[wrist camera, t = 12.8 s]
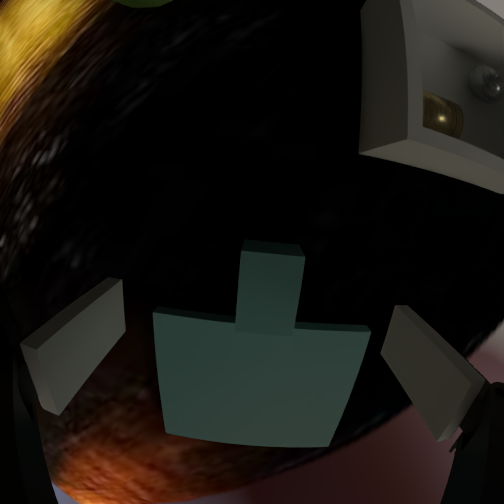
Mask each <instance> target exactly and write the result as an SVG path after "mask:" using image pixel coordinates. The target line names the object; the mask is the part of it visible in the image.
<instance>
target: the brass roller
mask: <svg viewBox="0 0 504 504" xmlns="http://www.w3.org/2000/svg"><path fill="white" fill-rule="evenodd" d="M422 93H423V127H425V128H428V129H431V130H434V131H437V132H440V133H443V134H445V135H448V136H451V137H453V138H456V139H459V137H460V135H461V133H462V130H463V125H464V116H463V112H462V109H461V107H460V106H459V105H458V104H457V103H455V102H452V101H450V100H448V99H445V98H443V97H440V96H438V95H435V94H433V93H430V92H428V91H425V90H422Z"/></svg>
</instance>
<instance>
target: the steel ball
mask: <svg viewBox="0 0 504 504" xmlns="http://www.w3.org/2000/svg"><path fill="white" fill-rule="evenodd" d="M468 82H469V86H470V89H471V91H472V92H473V94H474V95H475V96H476V97H477V98H478V99H479V100H480V101H482V102H484V103H487V104H495V103H497V102H499V101H500V100H501V99H502V97H503V95H504V83H503V80H502V78H501V76H500V75H499V73H498V72H497V71H496V70H495V69H493V68H492V67H490V66H488V65H483V64H480V65H476V66H474V67H473V68H472V69H471V71H470V73H469V76H468Z"/></svg>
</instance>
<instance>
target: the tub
mask: <svg viewBox="0 0 504 504" xmlns="http://www.w3.org/2000/svg"><path fill="white" fill-rule="evenodd" d="M360 15H361V37H362V97H361V121H360V137H359V151H358V154H363V155H368V156H373V157H377V158H382V159H386V160H391V161H395V162H399V163H403V164H407V165H411V166H415V167H419V168H422V169H426V170H430V171H433V172H437V173H440V174H444V175H447V176H450V177H453V178H457V179H460V180H463V181H466V182H469V183H472V184H475V185H478V186H480V187H483V188H486V189H489V190H492V191H494V192H497V193H500V194H504V95H503V97H502V99H501V100H500V101H499V102H497V103H495V104H487V103H484V102H482V101H480V100H479V99H478V98H477V97H476V96H475V95H474V94H473V92H472V91H471V89H470V86H469V82H468V76H469V73H470V71H471V69H472V68H473V67H474V66H476V65H480V64H483V65H488V66H490V67H492V68H493V69H495V70H496V71H497V72H498V73H499V75H500V76H501V78H502V80H503V83H504V19H503V18H501V17H500V16H498V15H497V14H496V13H494V12H493V11H491V10H490V9H488V8H487V7H485V6H484V5H482V4H481V3H479V2H477V1H476V0H366V2H365V4H364V5H363V7H362V9H361V10H360ZM422 90H425V91H428V92H430V93H433V94H435V95H438V96H440V97H443V98H445V99H448V100H450V101H452V102H455V103H457V104H458V105H459V106H460V107H461V109H462V112H463V116H464V125H463V130H462V133H461V135H460V137H459V139H456V138H453V137H451V136H448V135H445V134H443V133H440V132H437V131H434V130H431V129H428V128H425V127H423V93H422Z"/></svg>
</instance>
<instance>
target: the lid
mask: <svg viewBox="0 0 504 504" xmlns="http://www.w3.org/2000/svg"><path fill="white" fill-rule="evenodd" d="M304 262H305V256H304V254H303V252H302V250H301V248H300V246H299V245H297V244H287V243H277V242H267V241H257V240H247V239H245V240H244V243H243V246H242V250H241V259H240V271H239V283H238V295H237V308H236V316H229V315H220V314H212V313H204V312H196V311H188V310H181V309H174V308H167V307H160V306H157V308H156V309H155V310H154V311H153V325H154V339H155V351H156V362H157V371H158V380H159V389H160V396H161V404H162V411H163V417H164V424H165V430H166V433H170V434H174V435H179V436H185V437H190V438H196V439H202V440H209V441H216V442H224V443H233V444H243V445H255V446H273V447H328V446H329V444H330V441H331V439H332V437H333V435H334V433H335V430H336V428H337V426H338V423H339V421H340V419H341V416H342V414H343V411H344V409H345V406H346V404H347V401H348V399H349V396H350V393H351V391H352V388H353V385H354V383H355V380H356V377H357V374H358V371H359V368H360V365H361V362H362V359H363V356H364V353H365V350H366V347H367V344H368V340H369V337H370V334H371V331H370V330H369V328H368V327H367V325H347V324H326V323H309V322H295V319H296V313H297V307H298V301H299V295H300V289H301V282H302V276H303V269H304Z"/></svg>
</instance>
